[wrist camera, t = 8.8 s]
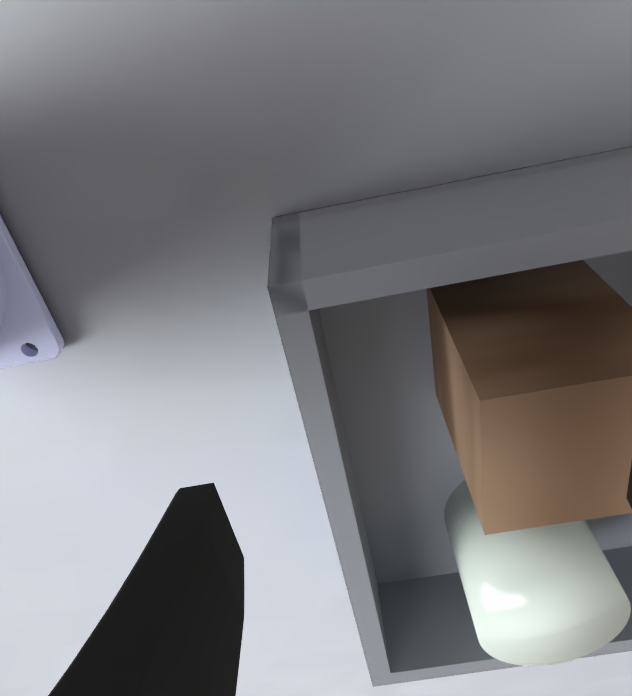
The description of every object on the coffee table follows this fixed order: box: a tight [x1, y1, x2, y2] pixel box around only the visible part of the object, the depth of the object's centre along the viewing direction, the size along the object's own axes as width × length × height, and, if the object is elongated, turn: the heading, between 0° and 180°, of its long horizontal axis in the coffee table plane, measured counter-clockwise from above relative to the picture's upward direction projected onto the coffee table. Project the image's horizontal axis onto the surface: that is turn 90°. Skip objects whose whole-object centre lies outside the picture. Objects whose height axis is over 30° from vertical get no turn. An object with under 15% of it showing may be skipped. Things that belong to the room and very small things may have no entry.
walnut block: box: [427, 260, 632, 535], centre depth 16 cm, size 4×4×6 cm
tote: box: [267, 147, 632, 687], centre depth 20 cm, size 13×18×4 cm
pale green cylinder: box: [444, 480, 631, 666], centre depth 21 cm, size 5×5×5 cm
